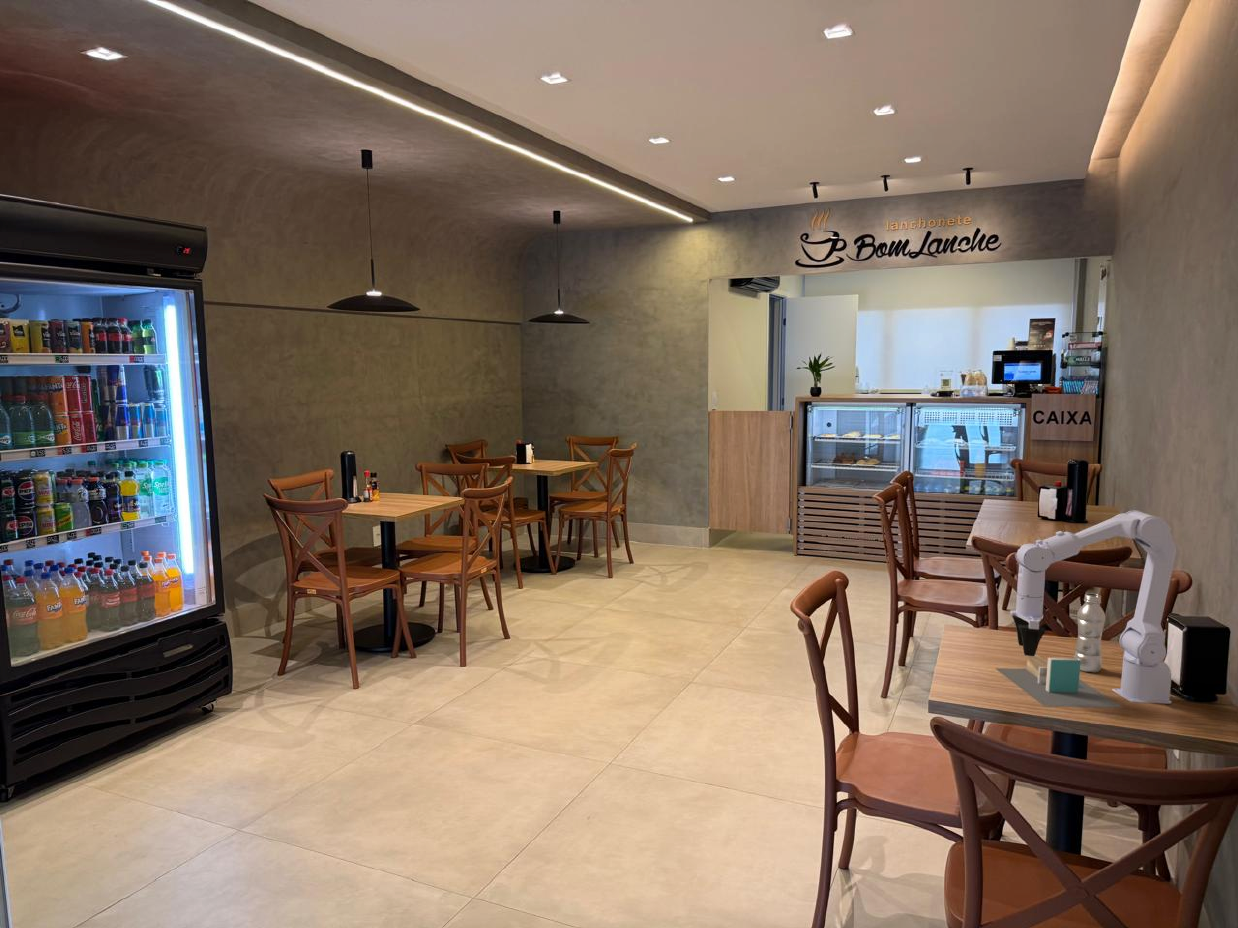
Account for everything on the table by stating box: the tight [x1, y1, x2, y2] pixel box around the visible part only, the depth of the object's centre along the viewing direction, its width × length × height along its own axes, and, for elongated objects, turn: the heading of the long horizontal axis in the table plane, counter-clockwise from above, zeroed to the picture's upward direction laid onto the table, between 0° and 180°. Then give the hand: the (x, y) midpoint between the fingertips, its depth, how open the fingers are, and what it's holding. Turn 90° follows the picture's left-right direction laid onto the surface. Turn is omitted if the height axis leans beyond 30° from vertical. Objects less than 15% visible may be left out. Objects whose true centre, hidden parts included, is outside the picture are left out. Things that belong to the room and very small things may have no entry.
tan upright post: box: [1026, 654, 1048, 684], centre depth 208 cm, size 6×10×4 cm, turn 0°
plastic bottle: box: [1073, 592, 1107, 673], centre depth 213 cm, size 6×7×20 cm
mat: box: [994, 667, 1124, 709], centre depth 201 cm, size 18×25×1 cm
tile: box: [1046, 657, 1081, 693], centre depth 198 cm, size 7×2×8 cm, turn 90°
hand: (1026, 650), depth 198 cm, fingers open, 7 cm apart
